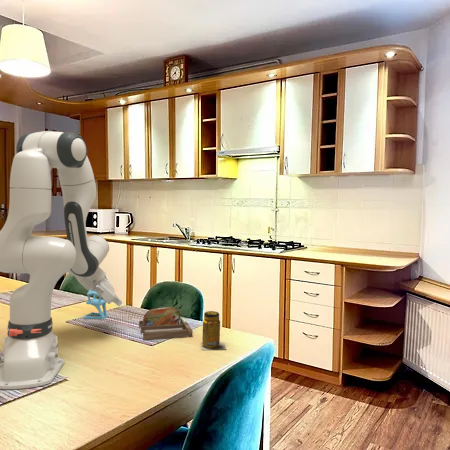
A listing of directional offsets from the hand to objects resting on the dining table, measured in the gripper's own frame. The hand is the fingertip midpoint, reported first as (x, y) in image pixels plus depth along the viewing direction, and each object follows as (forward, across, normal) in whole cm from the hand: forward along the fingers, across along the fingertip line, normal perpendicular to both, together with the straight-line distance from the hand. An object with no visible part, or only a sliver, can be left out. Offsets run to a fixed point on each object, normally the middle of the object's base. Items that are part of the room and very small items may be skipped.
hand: (120, 304), depth 159 cm
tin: (+19, +1, -4) cm, 19 cm away
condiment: (+30, -22, -14) cm, 39 cm away
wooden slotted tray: (+19, -3, -4) cm, 19 cm away
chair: (+1, +22, +13) cm, 26 cm away
